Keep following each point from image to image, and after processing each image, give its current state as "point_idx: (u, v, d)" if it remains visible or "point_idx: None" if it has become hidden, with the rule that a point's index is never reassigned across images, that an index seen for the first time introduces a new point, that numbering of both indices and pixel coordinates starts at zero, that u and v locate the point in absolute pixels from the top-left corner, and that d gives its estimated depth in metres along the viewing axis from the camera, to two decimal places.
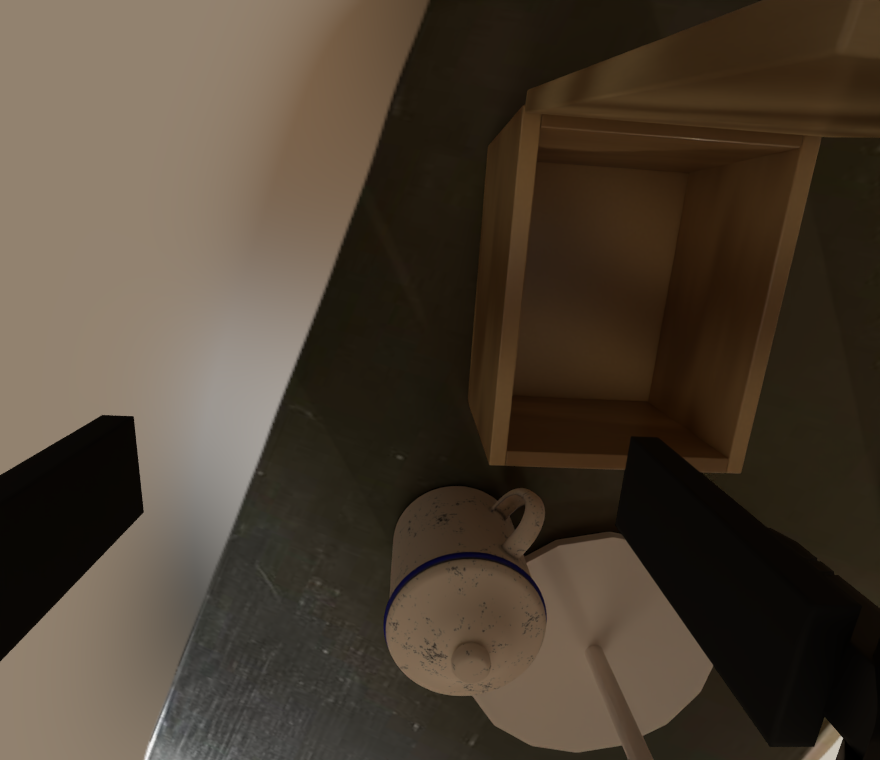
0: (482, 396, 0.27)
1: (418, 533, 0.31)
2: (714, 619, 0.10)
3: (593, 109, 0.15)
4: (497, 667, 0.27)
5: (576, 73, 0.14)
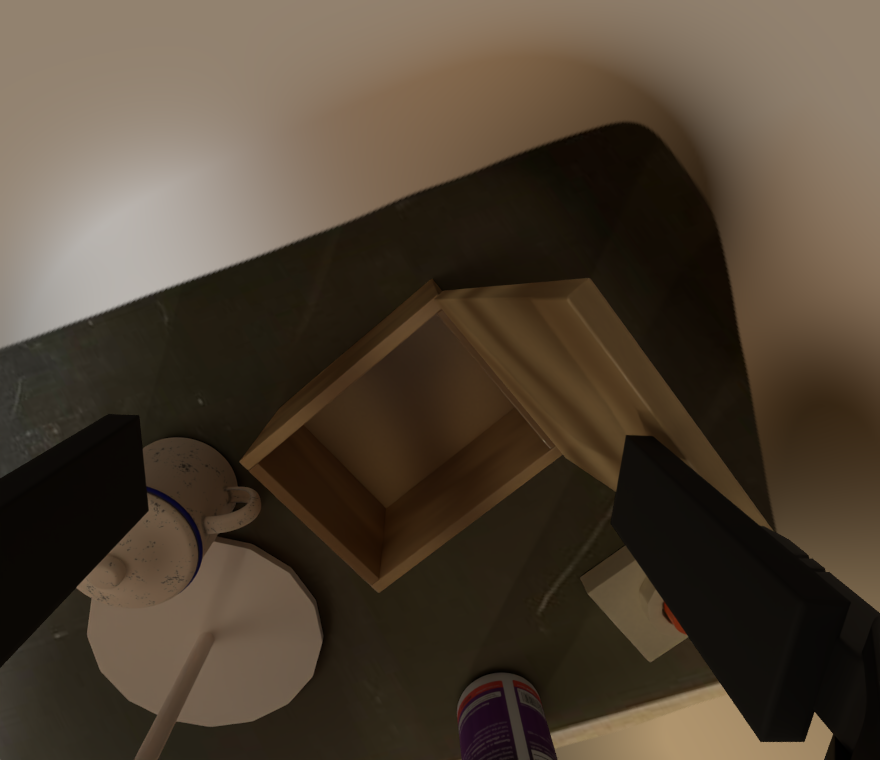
0: (281, 417, 0.34)
1: (159, 461, 0.36)
2: (706, 616, 0.10)
3: (470, 317, 0.23)
4: (123, 590, 0.32)
5: (476, 288, 0.22)
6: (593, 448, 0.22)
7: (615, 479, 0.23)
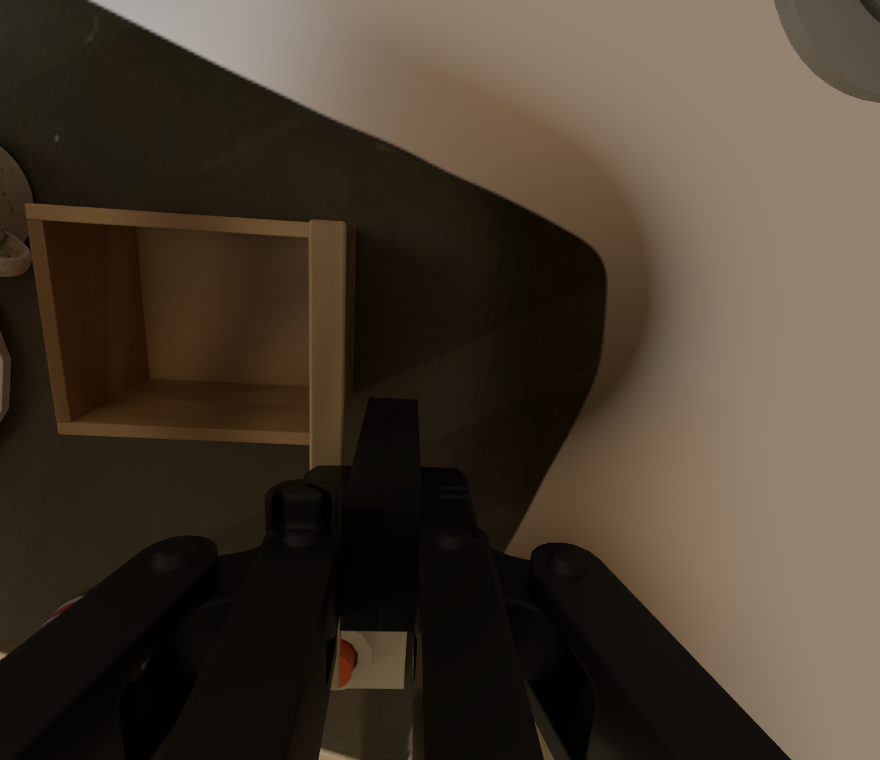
0: None
1: None
2: None
3: None
4: None
5: None
6: None
7: None
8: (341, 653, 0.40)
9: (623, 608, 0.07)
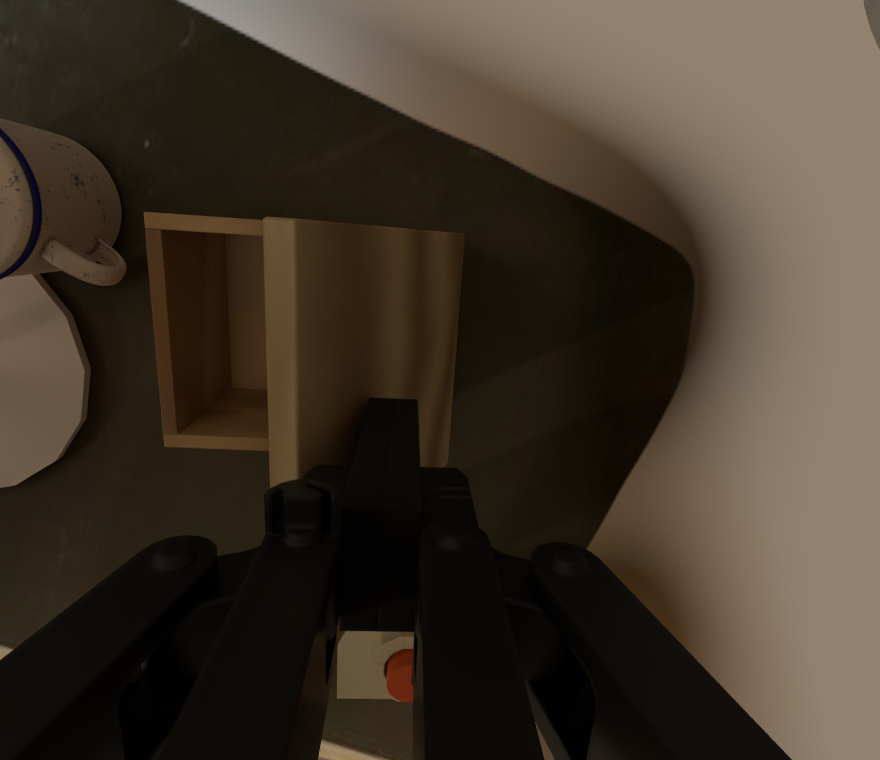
0: None
1: (55, 151, 0.29)
2: None
3: None
4: None
5: (426, 230, 0.19)
6: None
7: None
8: None
9: (624, 608, 0.07)
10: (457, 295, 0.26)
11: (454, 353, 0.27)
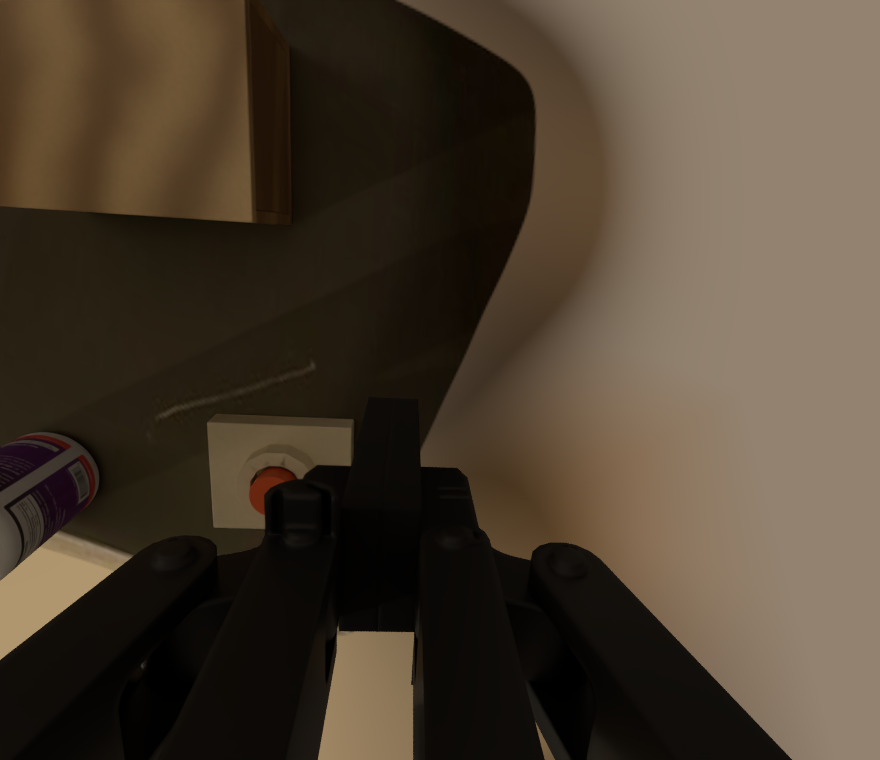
0: None
1: None
2: None
3: None
4: None
5: None
6: None
7: None
8: (283, 478, 0.41)
9: (624, 608, 0.07)
10: (232, 39, 0.28)
11: (240, 101, 0.29)
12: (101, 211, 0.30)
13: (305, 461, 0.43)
